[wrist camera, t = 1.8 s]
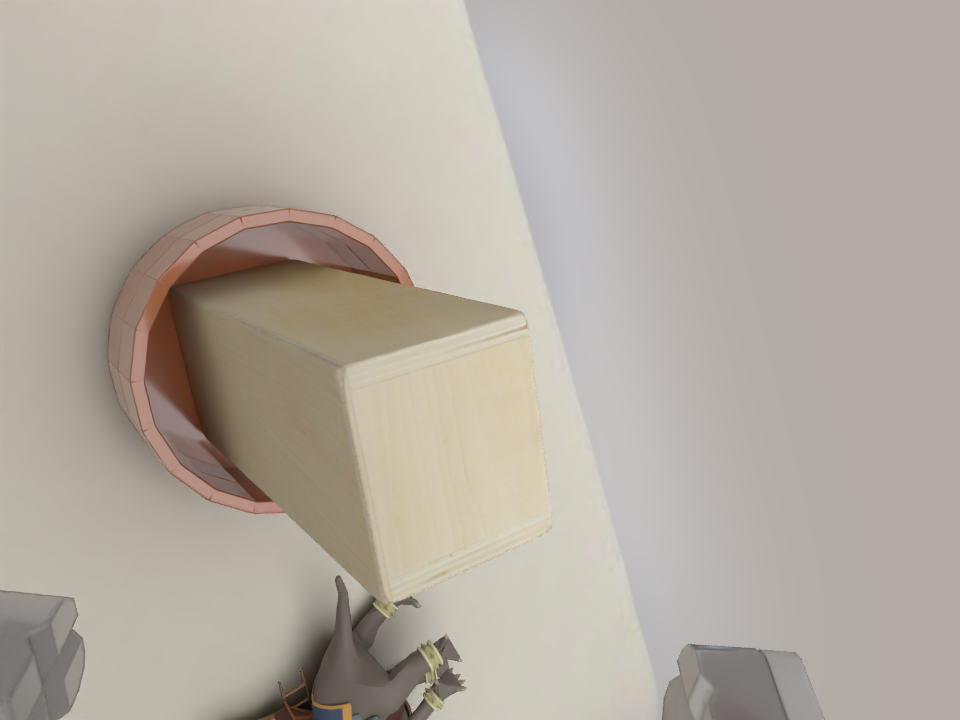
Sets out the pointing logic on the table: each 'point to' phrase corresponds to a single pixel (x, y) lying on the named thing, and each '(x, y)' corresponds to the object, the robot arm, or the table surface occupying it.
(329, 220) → the pot
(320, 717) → the figurine
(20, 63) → the table surface
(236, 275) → the toy refrigerator
